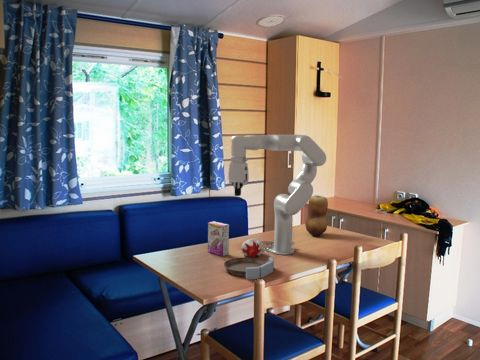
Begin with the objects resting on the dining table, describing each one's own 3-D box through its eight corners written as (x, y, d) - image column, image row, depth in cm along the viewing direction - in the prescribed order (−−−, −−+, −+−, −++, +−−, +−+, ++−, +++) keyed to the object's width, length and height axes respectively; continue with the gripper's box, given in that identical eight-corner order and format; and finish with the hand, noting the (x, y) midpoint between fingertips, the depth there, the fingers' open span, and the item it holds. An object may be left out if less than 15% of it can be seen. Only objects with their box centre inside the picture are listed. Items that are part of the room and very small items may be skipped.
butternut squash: (326, 238, 263) (328, 198, 260) (303, 237, 266) (305, 197, 263) (326, 233, 276) (328, 194, 273) (305, 231, 279) (307, 193, 276)
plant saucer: (214, 268, 208) (215, 261, 207) (248, 260, 221) (248, 254, 220) (242, 281, 192) (242, 274, 191) (275, 272, 205) (276, 265, 204)
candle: (259, 250, 235) (265, 263, 220) (238, 251, 233) (243, 263, 218) (260, 235, 232) (266, 246, 218) (239, 235, 230) (244, 247, 216)
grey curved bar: (269, 266, 211) (269, 256, 211) (278, 268, 208) (279, 258, 208) (244, 279, 194) (244, 268, 193) (254, 281, 191) (254, 270, 190)
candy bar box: (207, 252, 232) (207, 222, 230) (213, 250, 236) (213, 220, 233) (222, 256, 225) (223, 226, 223) (229, 254, 229) (229, 224, 226)
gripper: (254, 160, 219) (253, 196, 221) (231, 158, 227) (230, 193, 230) (246, 161, 213) (245, 198, 215) (222, 159, 221) (221, 194, 224)
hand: (237, 195), depth 222 cm, fingers closed
